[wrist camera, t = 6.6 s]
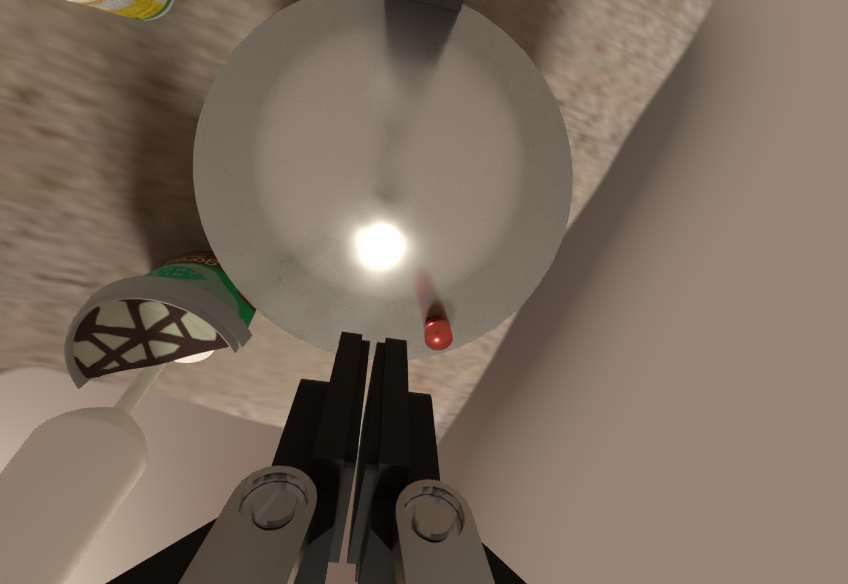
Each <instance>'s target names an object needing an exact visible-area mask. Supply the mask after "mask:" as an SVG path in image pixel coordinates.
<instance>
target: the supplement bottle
mask: <svg viewBox="0 0 848 584" xmlns="http://www.w3.org/2000/svg"><path fill="white" fill-rule="evenodd" d="M68 1H71V2H74V3H78V4H82V5H85V6H89V7H93V8H97V9H100V10H104V11H108V12H111V13H115V14H119V15H122V16H126V17H130V18H134V19H138V20H154V19H157V18H159V17H161V16H163V15H164V14H166V13H167V12H168V11H169V10H170V9H171V7H172V6H173V4H174V1H175V0H68Z"/></svg>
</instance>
